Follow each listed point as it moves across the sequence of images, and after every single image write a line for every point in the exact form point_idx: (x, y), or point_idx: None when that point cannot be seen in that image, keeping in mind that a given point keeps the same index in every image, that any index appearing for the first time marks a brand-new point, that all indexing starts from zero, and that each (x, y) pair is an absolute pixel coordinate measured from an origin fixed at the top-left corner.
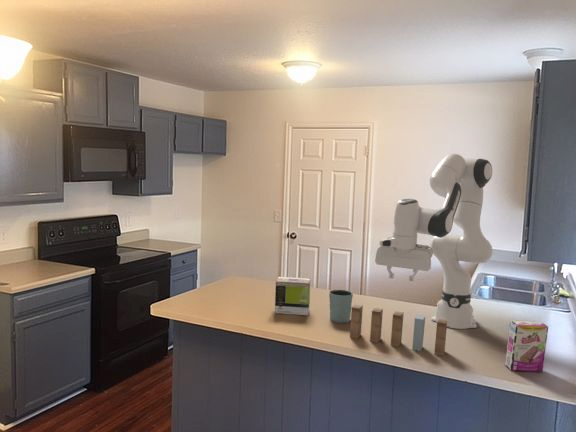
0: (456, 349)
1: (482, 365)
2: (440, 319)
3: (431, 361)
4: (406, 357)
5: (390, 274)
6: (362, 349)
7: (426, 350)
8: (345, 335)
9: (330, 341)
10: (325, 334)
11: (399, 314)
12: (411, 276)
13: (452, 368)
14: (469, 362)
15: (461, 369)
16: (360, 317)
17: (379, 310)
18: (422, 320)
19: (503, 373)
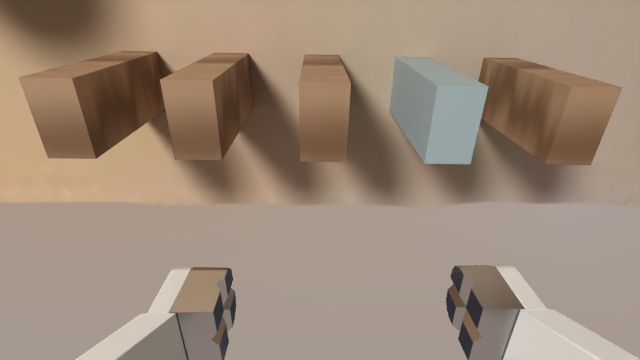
0: (575, 6)
1: (632, 131)
2: (576, 105)
3: (456, 182)
4: (376, 190)
5: (185, 355)
6: (229, 197)
7: None
8: None
9: (105, 185)
10: None
11: (334, 141)
12: (498, 355)
13: (518, 202)
14: None
15: (546, 196)
16: (119, 100)
17: (208, 129)
18: (465, 162)
19: None
